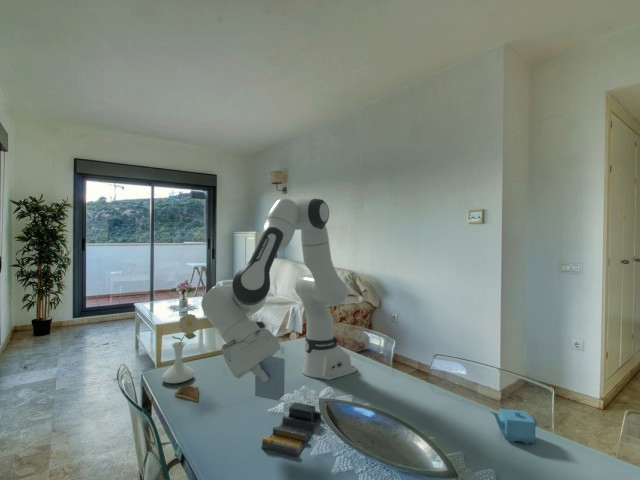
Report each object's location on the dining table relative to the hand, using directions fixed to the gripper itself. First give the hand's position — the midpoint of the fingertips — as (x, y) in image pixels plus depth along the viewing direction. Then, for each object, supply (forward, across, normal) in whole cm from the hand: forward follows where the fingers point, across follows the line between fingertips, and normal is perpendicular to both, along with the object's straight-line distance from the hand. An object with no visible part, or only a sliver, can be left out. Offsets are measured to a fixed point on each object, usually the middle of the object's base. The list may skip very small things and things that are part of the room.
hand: (272, 376), depth 92 cm
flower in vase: (-23, +21, +48) cm, 57 cm away
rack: (+15, +5, +9) cm, 19 cm away
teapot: (+56, +26, -31) cm, 69 cm away
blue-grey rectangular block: (+3, 0, +4) cm, 5 cm away
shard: (-14, +13, +40) cm, 44 cm away
